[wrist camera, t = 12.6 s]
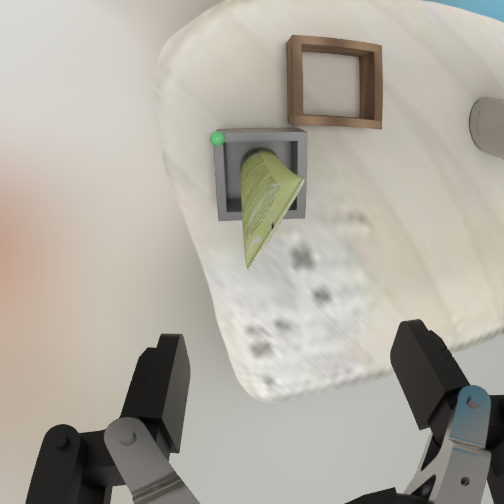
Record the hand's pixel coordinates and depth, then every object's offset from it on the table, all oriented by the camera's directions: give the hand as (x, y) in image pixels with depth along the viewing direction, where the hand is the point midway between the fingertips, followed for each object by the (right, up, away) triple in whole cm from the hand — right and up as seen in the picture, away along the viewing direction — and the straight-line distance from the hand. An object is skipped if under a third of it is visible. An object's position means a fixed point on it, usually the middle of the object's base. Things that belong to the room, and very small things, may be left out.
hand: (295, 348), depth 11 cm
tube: (-1, +14, +27) cm, 31 cm away
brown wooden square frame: (+8, +24, +23) cm, 35 cm away
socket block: (-1, +14, +28) cm, 32 cm away
